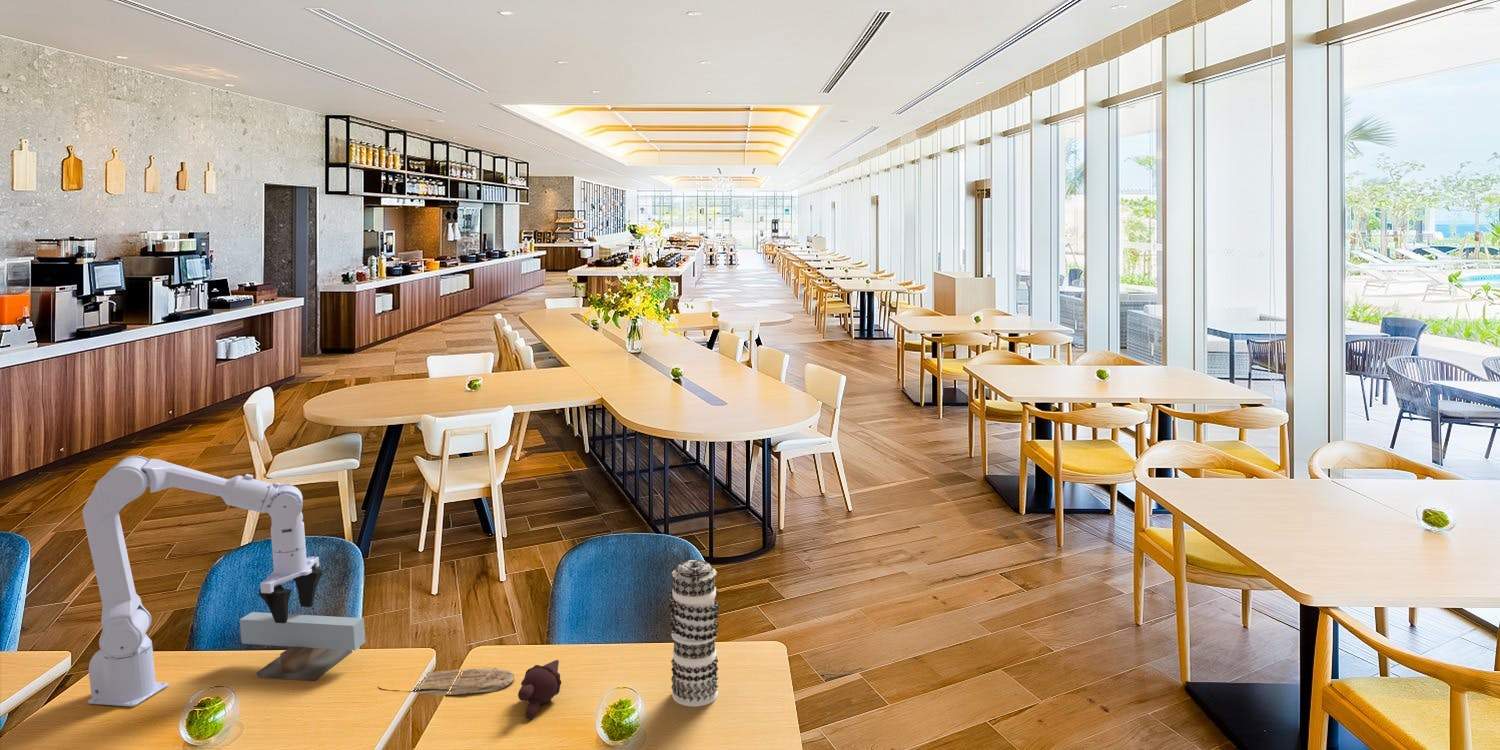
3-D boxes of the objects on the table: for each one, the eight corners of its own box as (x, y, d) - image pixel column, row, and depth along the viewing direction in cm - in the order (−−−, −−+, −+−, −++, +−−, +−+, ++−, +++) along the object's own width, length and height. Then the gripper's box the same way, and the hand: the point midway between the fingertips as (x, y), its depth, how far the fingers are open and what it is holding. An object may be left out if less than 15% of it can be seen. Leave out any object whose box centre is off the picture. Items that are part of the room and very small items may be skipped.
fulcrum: (256, 677, 160) (254, 655, 160) (297, 648, 172) (296, 628, 171) (314, 681, 159) (312, 658, 158) (352, 652, 171) (350, 631, 170)
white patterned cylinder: (669, 683, 158) (667, 556, 154) (718, 681, 159) (717, 554, 155) (669, 708, 149) (668, 574, 145) (721, 706, 150) (720, 572, 146)
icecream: (534, 647, 159) (498, 693, 144) (569, 641, 157) (536, 687, 143) (545, 679, 160) (511, 728, 146) (580, 673, 158) (548, 722, 144)
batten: (241, 643, 165) (239, 619, 164) (254, 635, 168) (252, 612, 167) (355, 650, 162) (353, 625, 161) (365, 642, 165) (363, 618, 164)
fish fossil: (366, 701, 152) (366, 695, 152) (385, 678, 162) (384, 672, 162) (511, 690, 155) (511, 684, 155) (520, 668, 165) (520, 663, 165)
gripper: (282, 561, 155) (288, 631, 157) (331, 536, 169) (335, 600, 171) (248, 560, 156) (253, 629, 157) (299, 535, 170) (303, 598, 172)
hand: (294, 614), depth 164 cm, fingers open, 7 cm apart
